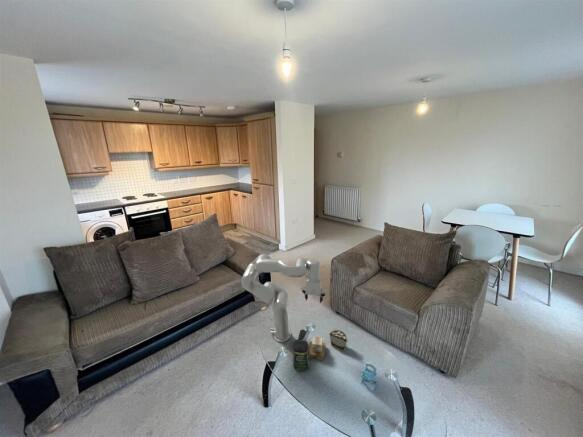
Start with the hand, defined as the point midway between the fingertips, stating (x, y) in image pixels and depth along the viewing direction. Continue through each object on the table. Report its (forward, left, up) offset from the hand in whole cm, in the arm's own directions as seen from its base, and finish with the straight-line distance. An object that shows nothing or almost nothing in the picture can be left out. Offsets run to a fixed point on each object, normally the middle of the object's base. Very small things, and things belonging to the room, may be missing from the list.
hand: (313, 300), depth 160 cm
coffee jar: (-4, -24, -31) cm, 40 cm away
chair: (+35, -27, -31) cm, 54 cm away
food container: (+17, -4, -31) cm, 36 cm away
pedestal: (+4, -13, -32) cm, 34 cm away
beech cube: (+4, -12, -28) cm, 30 cm away
